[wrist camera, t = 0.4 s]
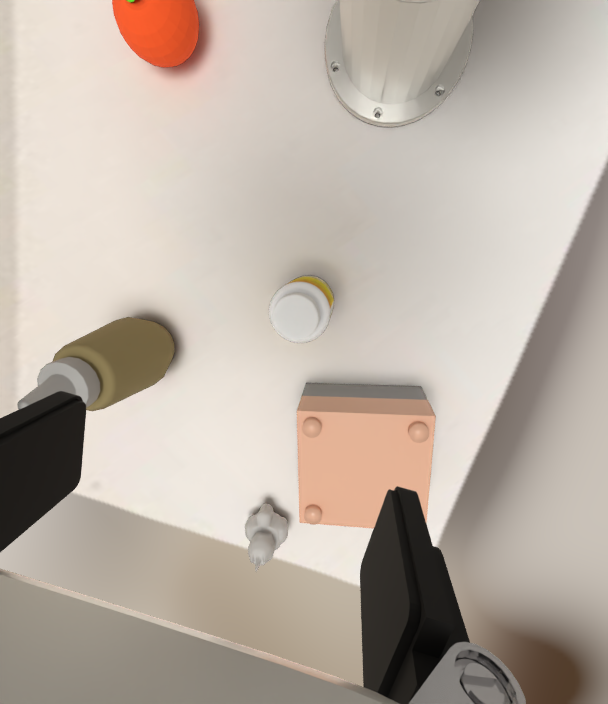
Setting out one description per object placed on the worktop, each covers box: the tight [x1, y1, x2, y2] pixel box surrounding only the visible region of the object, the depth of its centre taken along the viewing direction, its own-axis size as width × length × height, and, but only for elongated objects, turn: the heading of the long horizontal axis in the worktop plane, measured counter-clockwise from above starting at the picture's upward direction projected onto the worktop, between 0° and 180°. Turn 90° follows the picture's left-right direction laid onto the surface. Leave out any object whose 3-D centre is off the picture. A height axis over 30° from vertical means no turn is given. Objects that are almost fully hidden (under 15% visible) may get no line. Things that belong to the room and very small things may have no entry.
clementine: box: [112, 0, 199, 67], centre depth 32 cm, size 8×7×7 cm
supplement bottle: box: [269, 275, 334, 343], centre depth 35 cm, size 6×6×10 cm
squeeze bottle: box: [18, 317, 174, 411], centre depth 36 cm, size 8×8×18 cm
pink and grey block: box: [297, 383, 436, 528], centre depth 40 cm, size 13×13×8 cm
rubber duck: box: [245, 504, 288, 571], centre depth 45 cm, size 5×7×8 cm
